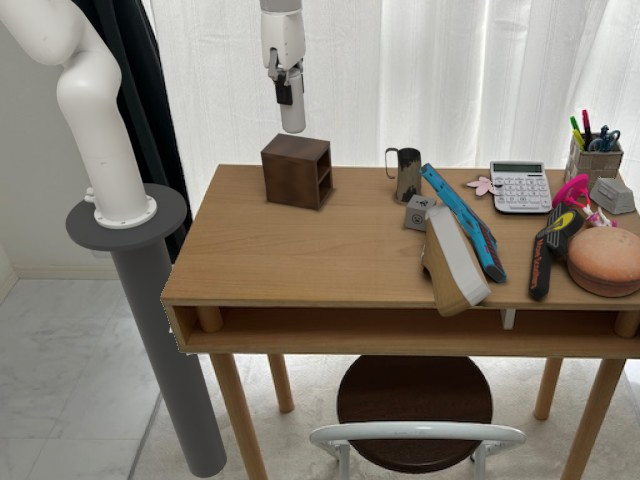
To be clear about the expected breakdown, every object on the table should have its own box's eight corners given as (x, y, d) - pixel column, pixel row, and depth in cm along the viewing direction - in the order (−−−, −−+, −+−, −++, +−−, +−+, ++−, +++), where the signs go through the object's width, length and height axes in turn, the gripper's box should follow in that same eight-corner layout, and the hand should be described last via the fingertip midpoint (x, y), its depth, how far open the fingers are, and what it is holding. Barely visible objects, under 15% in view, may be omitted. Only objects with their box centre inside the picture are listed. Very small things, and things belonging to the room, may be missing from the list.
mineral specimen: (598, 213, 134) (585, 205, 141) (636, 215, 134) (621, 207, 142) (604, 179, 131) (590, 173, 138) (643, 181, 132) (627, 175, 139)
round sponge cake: (572, 210, 121) (562, 255, 126) (572, 246, 108) (561, 294, 113) (656, 222, 118) (642, 267, 124) (665, 260, 105) (650, 309, 111)
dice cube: (428, 232, 128) (429, 211, 124) (405, 227, 129) (406, 206, 126) (435, 219, 131) (436, 199, 128) (413, 214, 133) (413, 194, 129)
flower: (494, 199, 135) (493, 205, 136) (517, 181, 141) (516, 187, 142) (457, 184, 139) (456, 190, 140) (481, 167, 146) (480, 173, 147)
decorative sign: (537, 215, 131) (578, 190, 125) (543, 222, 132) (584, 198, 126) (528, 293, 111) (576, 267, 105) (535, 301, 112) (583, 276, 106)
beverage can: (280, 126, 128) (273, 68, 120) (303, 122, 130) (297, 65, 122) (285, 136, 125) (278, 77, 117) (308, 132, 126) (303, 74, 118)
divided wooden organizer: (267, 201, 136) (260, 151, 128) (284, 181, 142) (278, 132, 134) (318, 210, 133) (314, 160, 125) (333, 189, 140) (330, 141, 132)
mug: (420, 191, 140) (422, 142, 132) (421, 204, 136) (423, 155, 128) (385, 191, 140) (385, 142, 132) (385, 204, 136) (385, 155, 128)
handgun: (498, 289, 116) (488, 242, 127) (511, 281, 114) (499, 235, 126) (421, 211, 104) (417, 167, 116) (434, 201, 103) (429, 158, 114)
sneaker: (439, 185, 122) (396, 211, 124) (475, 270, 100) (422, 300, 102) (461, 221, 128) (420, 245, 130) (500, 308, 106) (450, 336, 108)
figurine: (557, 186, 127) (606, 237, 121) (592, 166, 129) (643, 215, 123) (547, 214, 135) (593, 263, 129) (580, 195, 138) (627, 242, 132)
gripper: (281, -14, 118) (290, 80, 130) (239, 12, 106) (254, 113, 118) (318, -10, 116) (324, 84, 128) (280, 17, 104) (291, 119, 116)
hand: (290, 97), depth 123 cm, fingers closed on beverage can, 4 cm apart
